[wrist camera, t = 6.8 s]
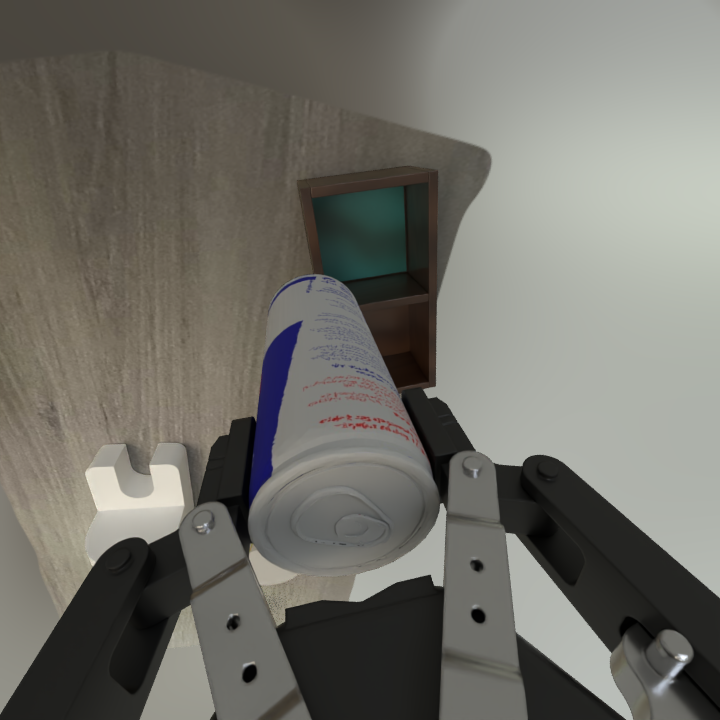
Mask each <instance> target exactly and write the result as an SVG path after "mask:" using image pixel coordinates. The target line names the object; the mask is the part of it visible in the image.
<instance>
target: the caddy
mask: <svg viewBox="0 0 720 720" xmlns="http://www.w3.org/2000/svg"><path fill="white" fill-rule="evenodd" d="M297 185H298V191H299V196H300V202H301V208H302V213H303V219H304V225H305V231H306V236H307V242H308V248H309V253H310V259H311V265H312V270H313V274H320V275H325V276H329V277H332V278H334V279H336V280H338V281H340V282H341V283H343V284H344V285H345V286H346V287H347V288H348V289H349V290H350V291H351V293H352V294H353V295H354V297H355V299H356V301H357V304H358V306H359V308H360V310H361V312H362V315H363V317H364V319H365V321H366V323H367V325H368V328H369V330H370V332H371V334H372V336H373V339H374V341H375V343H376V345H377V347H378V350H379V352H380V354H381V356H382V358H383V360H384V363H385V365H386V367H387V369H388V371H389V374H390V376H391V378H392V380H393V382H394V385H395V387H396V389H397V391H398V393H399V394H400V393H402V390H406V389H411V388H417V387H421V388H422V389H425V388H429V387H435V386H436V314H437V221H438V170H433V169H426V168H420V167H414V166H404V167H396V168H388V169H381V170H373V171H365V172H358V173H350V174H343V175H335V176H327V177H320V178H312V179H304V180H297Z"/></svg>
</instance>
